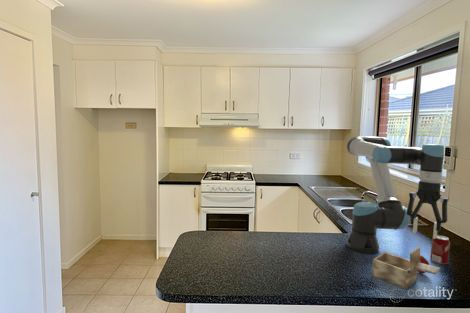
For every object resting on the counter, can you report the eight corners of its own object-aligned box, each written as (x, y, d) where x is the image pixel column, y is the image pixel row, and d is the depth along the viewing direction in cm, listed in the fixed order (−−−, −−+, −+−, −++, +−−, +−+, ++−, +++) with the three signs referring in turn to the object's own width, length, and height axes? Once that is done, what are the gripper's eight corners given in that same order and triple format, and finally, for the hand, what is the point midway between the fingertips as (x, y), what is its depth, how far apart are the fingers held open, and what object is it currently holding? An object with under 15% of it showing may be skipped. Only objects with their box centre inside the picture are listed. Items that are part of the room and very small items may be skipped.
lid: (410, 253, 105) (434, 258, 100) (418, 246, 112) (441, 251, 106) (410, 271, 106) (434, 278, 100) (418, 263, 112) (441, 269, 106)
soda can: (440, 266, 126) (443, 240, 125) (426, 259, 133) (429, 235, 132) (451, 264, 128) (454, 239, 127) (437, 258, 134) (439, 234, 133)
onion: (422, 270, 122) (424, 252, 121) (432, 277, 116) (434, 258, 115) (409, 270, 121) (411, 252, 121) (418, 276, 116) (420, 258, 115)
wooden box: (371, 275, 115) (373, 258, 115) (383, 266, 123) (384, 250, 123) (408, 290, 105) (409, 271, 105) (418, 279, 113) (419, 262, 113)
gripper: (400, 178, 120) (395, 230, 122) (457, 186, 105) (450, 244, 107) (406, 177, 125) (402, 226, 127) (461, 184, 110) (455, 240, 112)
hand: (424, 235), depth 117 cm, fingers open, 7 cm apart
